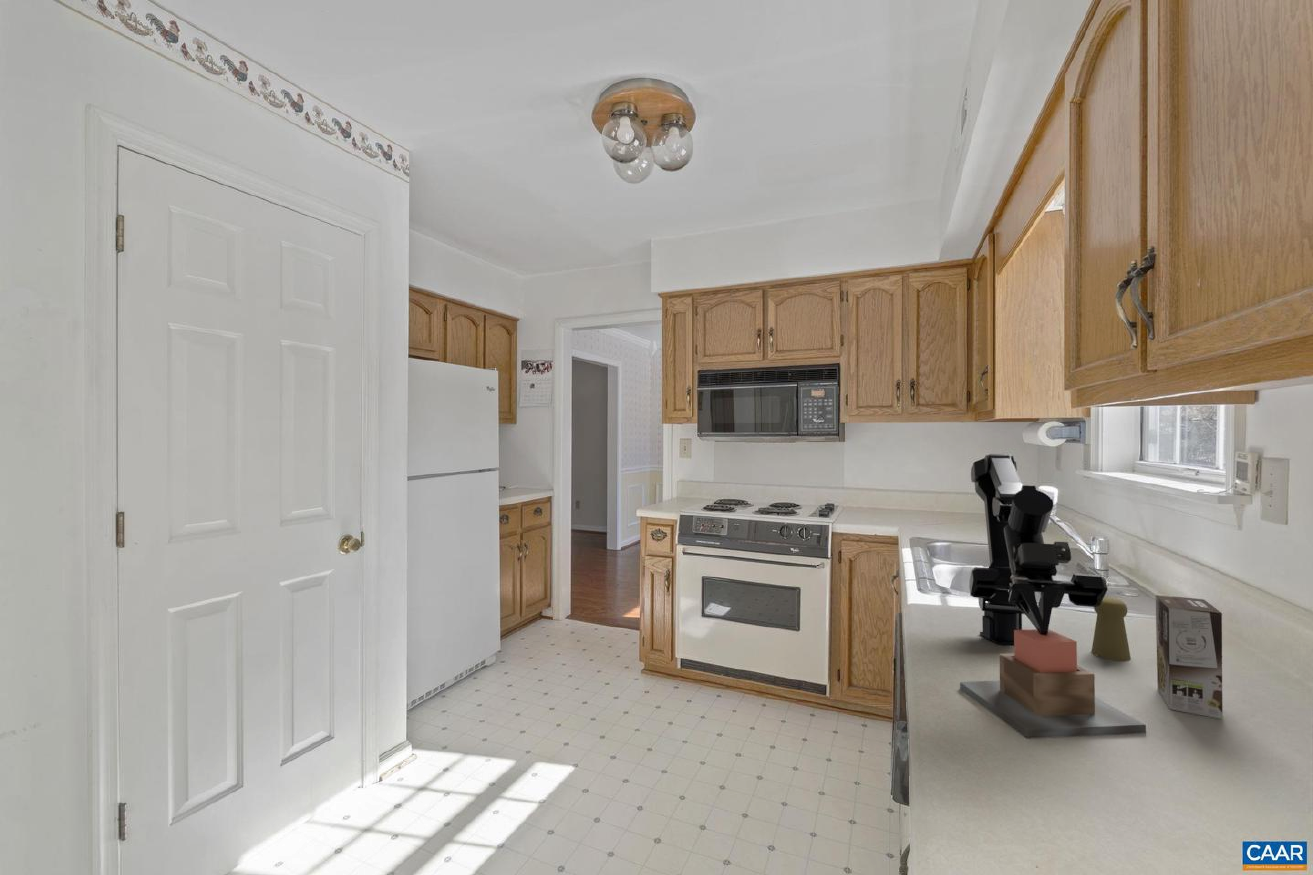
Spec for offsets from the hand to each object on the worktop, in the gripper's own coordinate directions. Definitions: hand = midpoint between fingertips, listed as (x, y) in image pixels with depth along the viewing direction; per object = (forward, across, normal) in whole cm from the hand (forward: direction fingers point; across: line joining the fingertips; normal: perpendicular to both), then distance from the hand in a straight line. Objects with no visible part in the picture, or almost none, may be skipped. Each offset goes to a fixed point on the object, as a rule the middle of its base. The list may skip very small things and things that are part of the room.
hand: (1044, 633), depth 90 cm
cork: (-13, +18, +30) cm, 37 cm away
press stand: (+8, 0, +8) cm, 12 cm away
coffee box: (+1, +22, +16) cm, 27 cm away
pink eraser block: (+5, 0, +4) cm, 6 cm away
